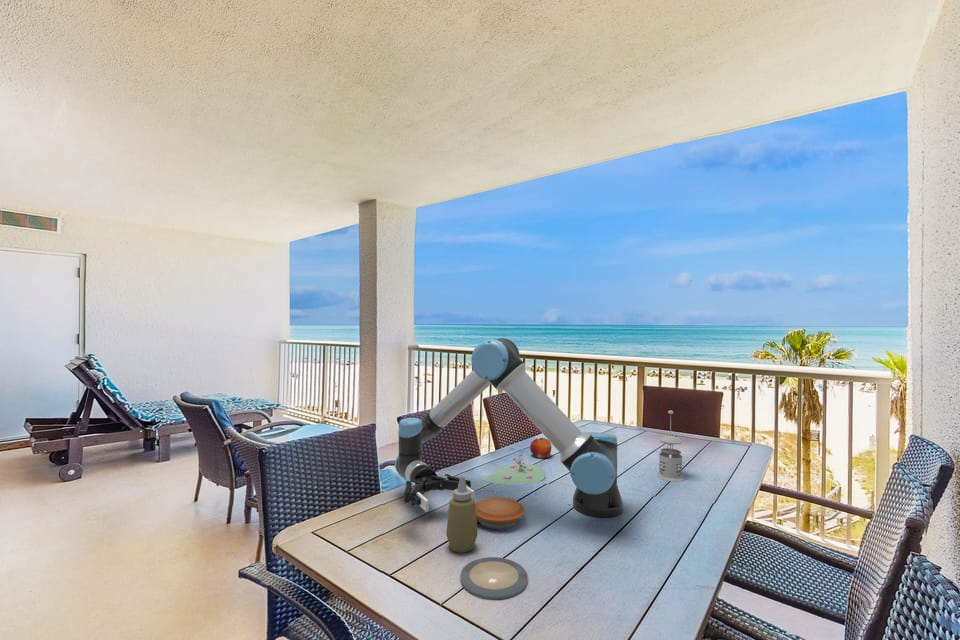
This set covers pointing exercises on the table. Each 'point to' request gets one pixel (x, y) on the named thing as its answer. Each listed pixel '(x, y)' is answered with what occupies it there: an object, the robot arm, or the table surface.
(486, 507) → the pie
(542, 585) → the table surface
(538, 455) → the tomato
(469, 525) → the squeeze bottle
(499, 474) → the plant
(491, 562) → the coaster
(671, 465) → the french press
